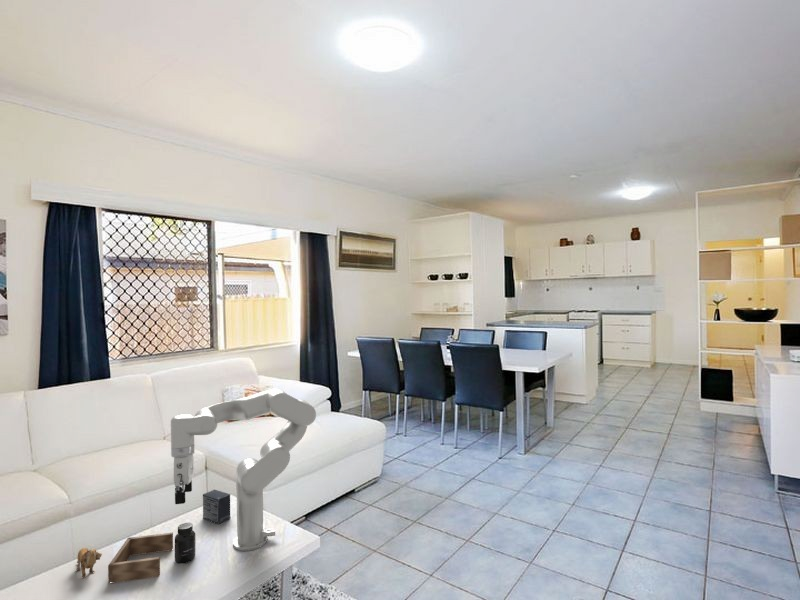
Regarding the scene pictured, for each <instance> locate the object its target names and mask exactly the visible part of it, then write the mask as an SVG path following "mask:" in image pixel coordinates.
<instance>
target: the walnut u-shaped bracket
mask: <svg viewBox="0 0 800 600" xmlns="http://www.w3.org/2000/svg"><path fill="white" fill-rule="evenodd" d="M172 549H174V532H166V533H158V534H150V535H149V534H148V535H139V536H131V537H127V539H126V540H125V541H124V543H123V544H122V545H121V546H120V549H119V550H118V551H117V553H116V554H115V555H114V557H113V558H112V560H111V561H110V562H109V564H108V565H107V566H108V567H107V569H108V571H107V575H108V583H110V582H117V583H122V582H123V581H124V582H130V581H137V580H145V579H152V578H159V577H160V575H161V564H160V563H161V558H160V556H156V557H147V558H141V559H134V560H129V559H130V557H131V556H134V555H135V556H136V555H143V554H152V553H159V552H161V553H162V552H168V550H169V551H173V550H172ZM110 584H111V583H110Z"/></svg>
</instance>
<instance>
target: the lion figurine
mask: <svg viewBox="0 0 800 600" xmlns="http://www.w3.org/2000/svg"><path fill="white" fill-rule="evenodd" d="M102 556H103V553H101V552H98V551H97V549H96V548H93V549H88V548H87V547H81V549H79V551H78V553H77V558H76V559H77V561H76V563H77V567H76V569H75V571H76V570H79V571H80V570H81V577H85V576H86V577H87V574H86V569H87V570H88V569H89V571H88V572H89V574H90V573H92V574H94V573H95V570H94V569H93V567H94V565H95V564H96V563H97V561H100V559H101V557H102ZM93 572H94V573H93ZM86 577H85V578H86Z"/></svg>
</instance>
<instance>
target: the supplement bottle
mask: <svg viewBox="0 0 800 600" xmlns="http://www.w3.org/2000/svg"><path fill="white" fill-rule="evenodd" d="M193 525H194V524H193V523H192V522H184V523H181V524H180V525H178V526H177V533H176V534H175V536H174V563H176V564H178V565H185V564H188V563H191V562H192V561H193V560H194V559H195V558H196V540H197V539H196V538H197V537H196V533H195V530H194V529H193V528H194V527H193Z"/></svg>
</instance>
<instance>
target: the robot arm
mask: <svg viewBox="0 0 800 600" xmlns="http://www.w3.org/2000/svg"><path fill="white" fill-rule="evenodd" d="M270 413H272V414H275V415H276V416H278V417H280V418H282V419H284V420H286V421H287V422H286V424H285V425H284V426H283V428H281V429H280V430H279V431H278V432H277V433H276V434H274V435H273V436H272V437H271V438H270V439H268V440H267V441H266V442H265V443H264V444H263V445H262V447H261V448H260V449H259V450H260V451H259V455H260V456H259V457H260V459H259V460H257V459H256V458H253V457H248V458H244V459H243V460H241V461H240V462H239V463H238V464H237V467H236V469H235V475H234V477H235V486H236V527H237V528H236V531H237V534H236V537H235V538H234V539H233V542H232V546H233V548H234V549H235V550H237V551H242V552H243V551H244V552H245V551H247V550H248V551H253V550H257V549H259V548H261V547H263V546H264V545H265V544H266V543H267V542H268V540H269V539H268V537H275V536H276V530H273V527H272V528H266V527H265V526H266V525H265V524H264V492H263V491H264V489H266V487H268V486H269V485H270V484H271V483H272V482H273V481H274V480H276V478H277V477H279V475H281V474H282V473H283V472H284V471H285V469H286V468H287V467H288V465H289V463H290V461H291V454H290V453H291V450H292V449H294V448H295V446H297V444H299V442H300V441H301V440H302V438H304V436H305V433H306V432H307V429H308V426H310V425H311V424H313V423H314V422H315V420H316V419H317V411H316V409H315V407H314V406H313V405H312V404H310V403H309V402H308V401H307V400H304V399H302V398H295V397H293V396H291V395H290V394H288V393H287V392H286V391H284V390H282V389H280V388H271V389H268V390H264V391H262V392H259V393H258V392H257V393H255V394H252V395H250V396H246V397H242V398H239V399H232V400H228V401H222V402H220V403H219V402H218V403H216V404H215V403H214V404H212V405H210V406H207V407H203V408H201V409H199V410H198V411H197V412H195V414H194V416H193V415H192V414H188V413H187V414H186V413H184V414H177V415H175V416H173V417H172V418H171V420H170V449H171V450H170V452H171V453H170V456H171V457H172V458H173V485H174V486H175V488H174V504H175V505H182V504H186V493H190V492H192V491H193V478H194V477H195V461H194V454H195V436H207V435H210V434H213V433H214V432H215V431H216V430H217V428H218V424H220V423H223V422H226V421H233V420H236V421H237V420H238V421H250V420H252V419H255V418H258V417H261V416H263V415H266V414H270ZM267 539H268V540H267ZM266 541H267V542H266ZM265 542H266V543H265ZM264 543H265V544H264ZM263 544H264V545H263ZM260 546H261V547H260ZM258 547H259V548H258ZM256 548H257V549H256Z"/></svg>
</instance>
